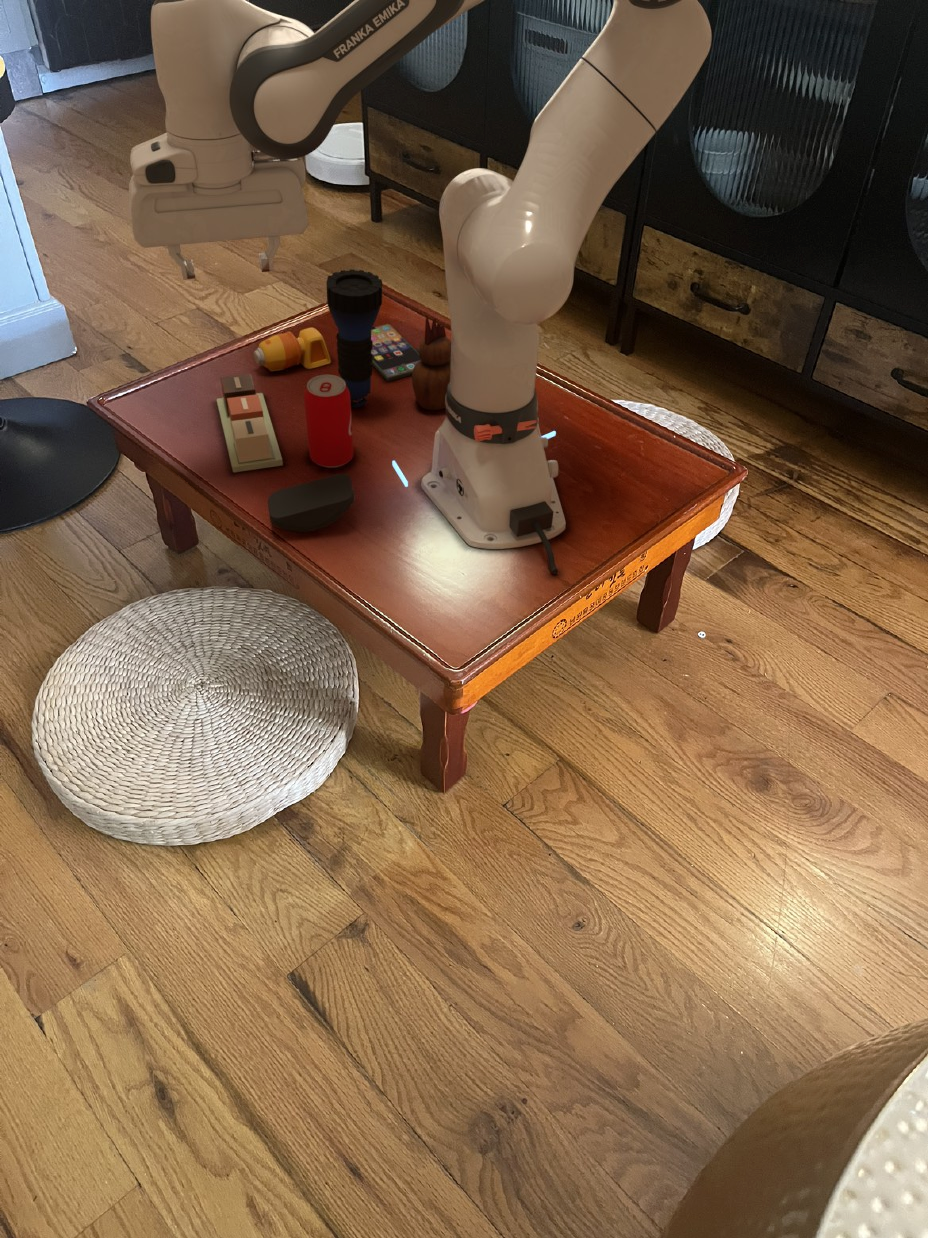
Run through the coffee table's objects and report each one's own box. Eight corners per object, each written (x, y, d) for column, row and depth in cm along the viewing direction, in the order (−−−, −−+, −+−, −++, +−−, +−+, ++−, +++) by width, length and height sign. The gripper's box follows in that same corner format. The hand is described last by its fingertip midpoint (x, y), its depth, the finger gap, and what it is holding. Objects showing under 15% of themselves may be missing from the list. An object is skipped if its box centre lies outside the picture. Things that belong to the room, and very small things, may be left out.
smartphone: (387, 381, 149) (387, 374, 148) (347, 339, 158) (346, 332, 157) (431, 369, 152) (431, 363, 151) (389, 329, 161) (389, 322, 160)
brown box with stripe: (253, 396, 142) (250, 372, 139) (258, 412, 139) (255, 388, 136) (224, 400, 141) (220, 376, 138) (227, 416, 138) (223, 392, 135)
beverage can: (357, 447, 136) (353, 374, 127) (349, 472, 131) (345, 398, 123) (314, 443, 136) (308, 370, 128) (305, 468, 132) (298, 394, 123)
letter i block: (271, 458, 131) (268, 433, 128) (239, 462, 130) (235, 438, 127) (266, 440, 134) (263, 415, 131) (234, 444, 133) (230, 420, 130)
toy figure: (264, 381, 148) (333, 363, 152) (259, 350, 144) (331, 332, 148) (251, 365, 151) (319, 348, 155) (246, 334, 147) (316, 317, 151)
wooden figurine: (421, 418, 142) (422, 327, 131) (407, 399, 146) (406, 308, 135) (461, 409, 144) (465, 319, 133) (447, 391, 148) (449, 301, 137)
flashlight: (395, 409, 143) (393, 284, 129) (353, 426, 140) (346, 300, 125) (365, 386, 148) (360, 263, 133) (323, 403, 144) (313, 278, 130)
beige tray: (283, 465, 132) (279, 434, 129) (233, 472, 130) (227, 441, 127) (263, 398, 144) (259, 368, 140) (217, 404, 142) (212, 374, 139)
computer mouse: (268, 521, 118) (278, 545, 121) (354, 497, 119) (362, 522, 121) (265, 493, 123) (275, 517, 126) (348, 471, 123) (356, 495, 126)
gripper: (298, 138, 109) (308, 254, 119) (116, 149, 104) (141, 270, 114) (309, 157, 105) (317, 276, 114) (119, 170, 100) (145, 293, 110)
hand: (228, 273), depth 114 cm, fingers open, 8 cm apart
